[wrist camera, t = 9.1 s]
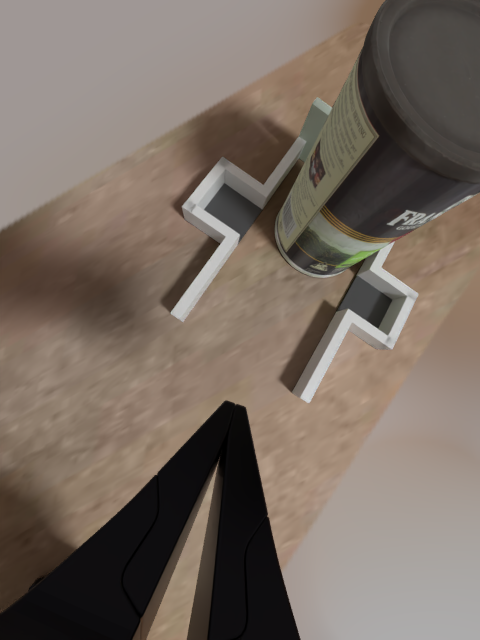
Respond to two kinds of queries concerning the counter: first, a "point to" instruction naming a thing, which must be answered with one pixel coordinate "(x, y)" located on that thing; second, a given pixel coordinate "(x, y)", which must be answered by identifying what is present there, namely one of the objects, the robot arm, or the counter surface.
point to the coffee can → (391, 139)
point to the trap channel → (237, 217)
